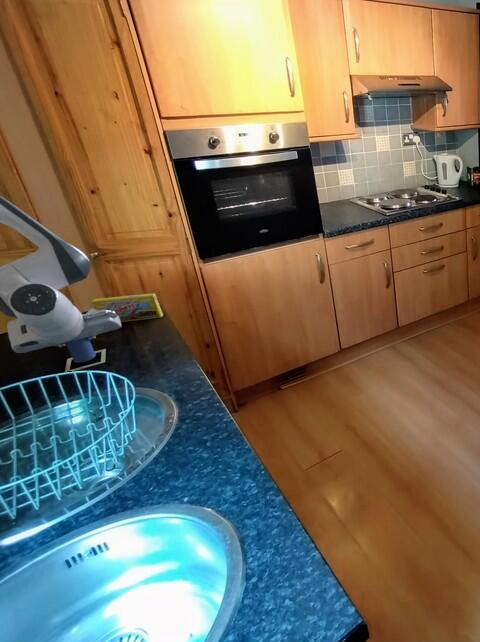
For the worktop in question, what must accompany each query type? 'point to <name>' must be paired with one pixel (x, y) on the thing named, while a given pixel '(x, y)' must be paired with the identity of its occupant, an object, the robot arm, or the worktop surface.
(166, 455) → the worktop surface
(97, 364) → the spot outline
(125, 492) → the worktop surface
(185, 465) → the worktop surface
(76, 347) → the blue bottle
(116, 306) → the candy box
